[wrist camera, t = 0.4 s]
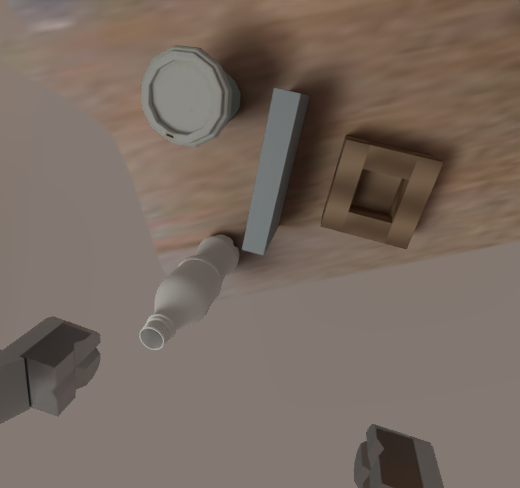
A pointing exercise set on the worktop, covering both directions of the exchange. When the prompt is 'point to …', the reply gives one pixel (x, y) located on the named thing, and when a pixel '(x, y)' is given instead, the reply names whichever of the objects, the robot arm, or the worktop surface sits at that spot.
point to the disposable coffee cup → (188, 96)
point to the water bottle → (190, 290)
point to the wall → (274, 168)
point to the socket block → (379, 191)
